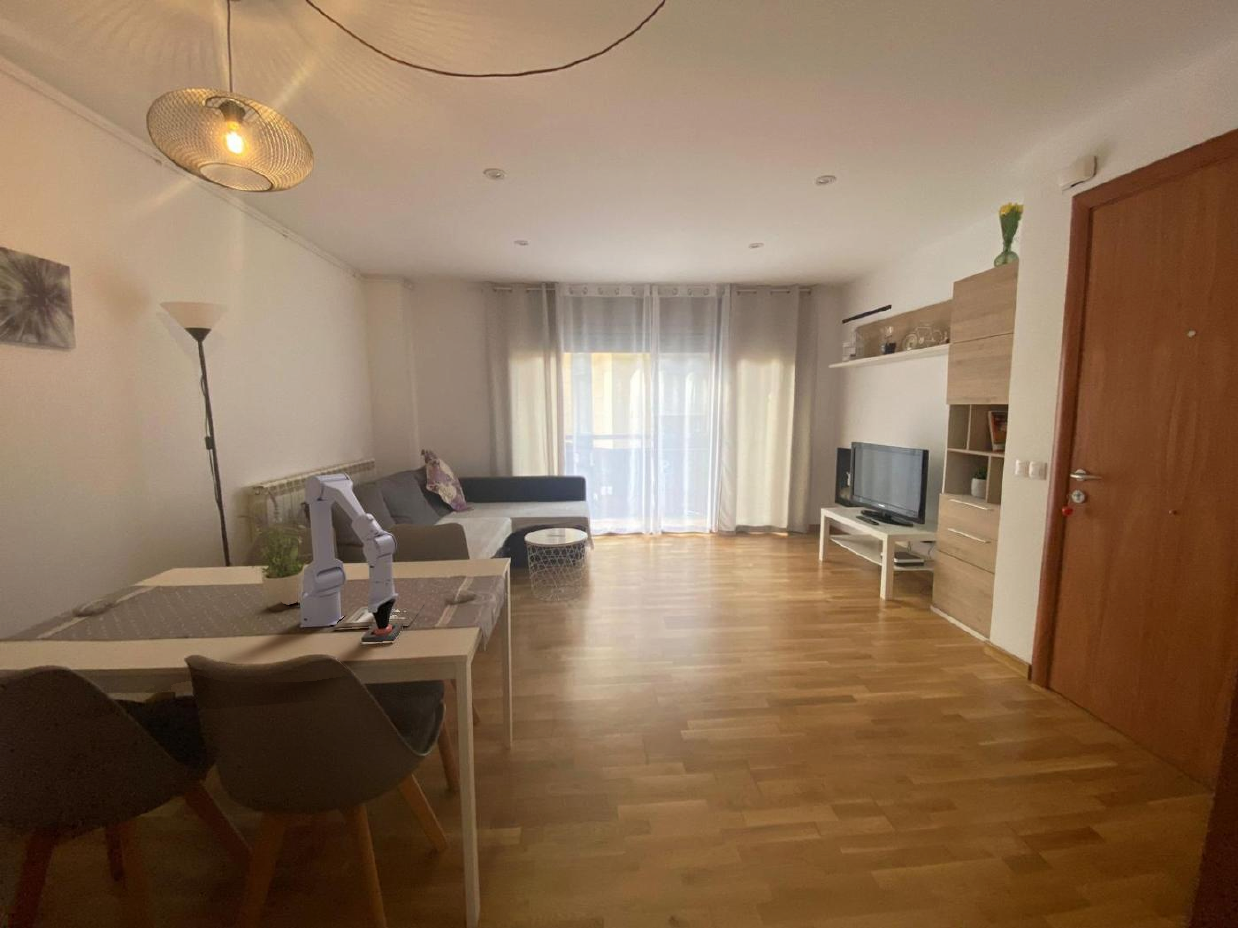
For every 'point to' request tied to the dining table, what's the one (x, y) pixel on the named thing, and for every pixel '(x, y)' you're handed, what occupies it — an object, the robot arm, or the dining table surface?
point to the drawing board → (361, 618)
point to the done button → (383, 630)
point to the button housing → (392, 636)
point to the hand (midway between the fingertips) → (383, 627)
